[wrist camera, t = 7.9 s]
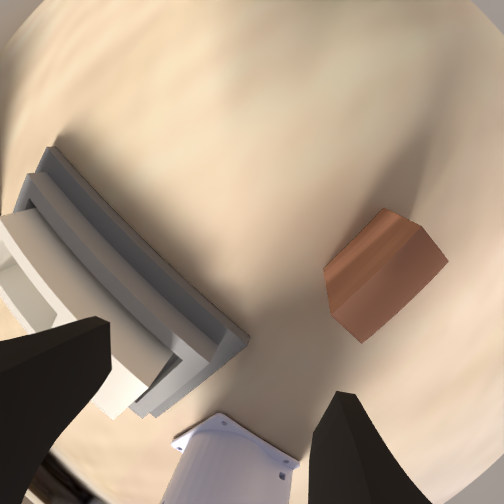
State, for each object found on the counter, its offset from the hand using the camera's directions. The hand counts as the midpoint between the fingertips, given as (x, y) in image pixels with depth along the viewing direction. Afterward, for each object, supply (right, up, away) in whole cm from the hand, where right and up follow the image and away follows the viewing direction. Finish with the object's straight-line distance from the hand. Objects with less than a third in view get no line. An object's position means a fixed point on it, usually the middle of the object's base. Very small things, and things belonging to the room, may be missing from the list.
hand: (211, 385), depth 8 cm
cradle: (-10, +1, +12) cm, 16 cm away
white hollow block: (-10, +1, +11) cm, 15 cm away
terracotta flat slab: (+8, +4, +8) cm, 12 cm away
